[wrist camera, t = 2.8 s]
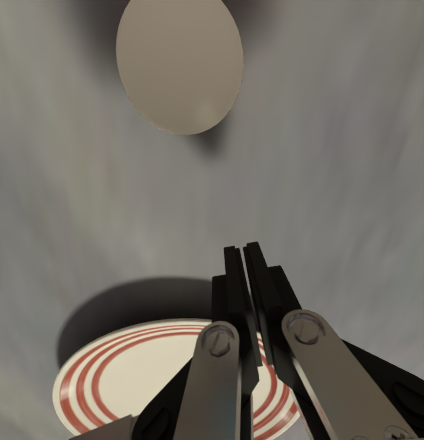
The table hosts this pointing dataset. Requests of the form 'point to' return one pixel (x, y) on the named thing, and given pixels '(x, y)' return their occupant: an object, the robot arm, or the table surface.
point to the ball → (180, 62)
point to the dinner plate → (151, 377)
